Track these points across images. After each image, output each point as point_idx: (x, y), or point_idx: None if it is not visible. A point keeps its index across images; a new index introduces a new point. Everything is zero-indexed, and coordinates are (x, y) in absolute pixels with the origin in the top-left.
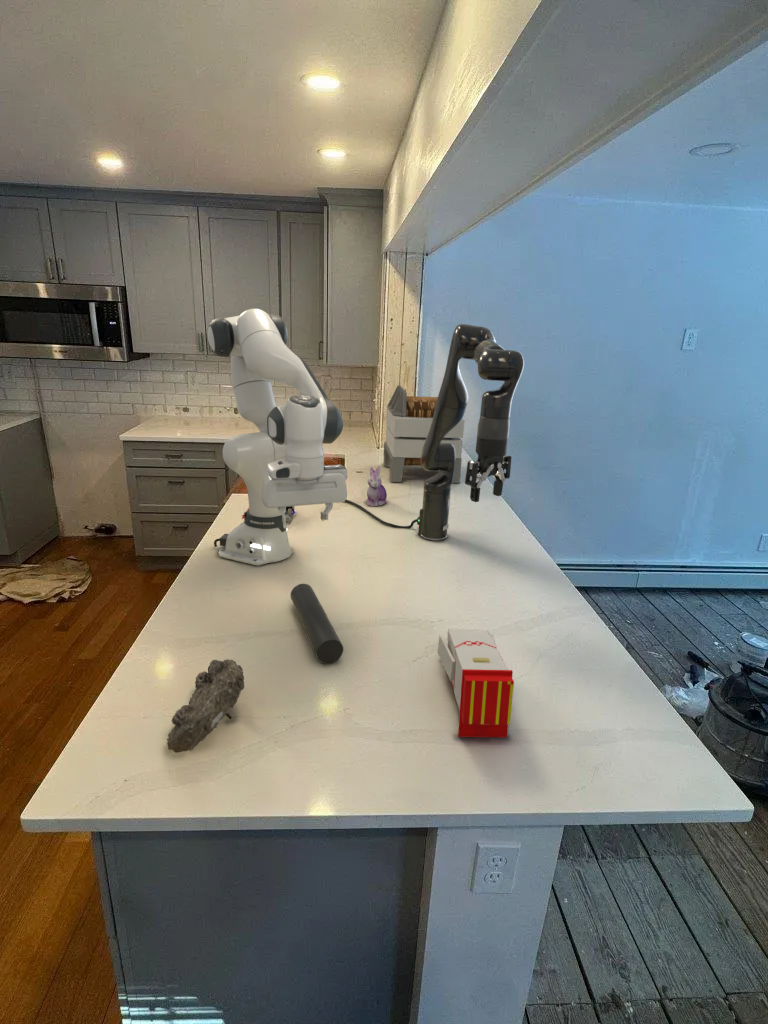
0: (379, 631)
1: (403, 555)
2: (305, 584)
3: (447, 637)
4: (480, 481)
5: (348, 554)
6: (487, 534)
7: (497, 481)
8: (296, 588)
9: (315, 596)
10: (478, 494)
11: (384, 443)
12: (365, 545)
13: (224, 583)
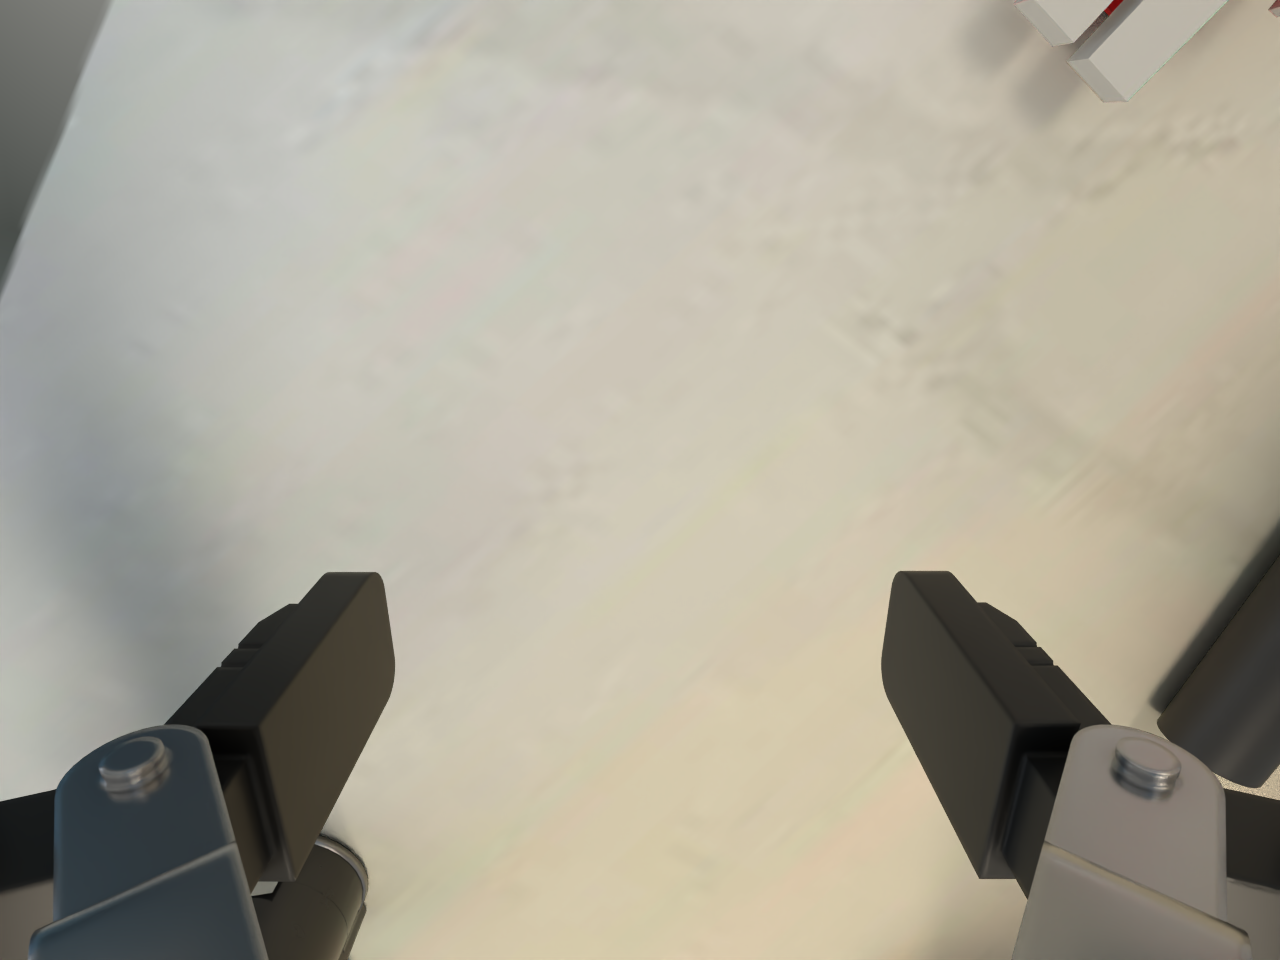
0: (1133, 410)
1: (558, 812)
2: (1235, 775)
3: (1110, 101)
4: (1171, 857)
5: (742, 914)
6: (42, 778)
7: (265, 821)
8: (1273, 771)
9: (1267, 689)
10: (985, 637)
11: None
12: (629, 938)
13: None
